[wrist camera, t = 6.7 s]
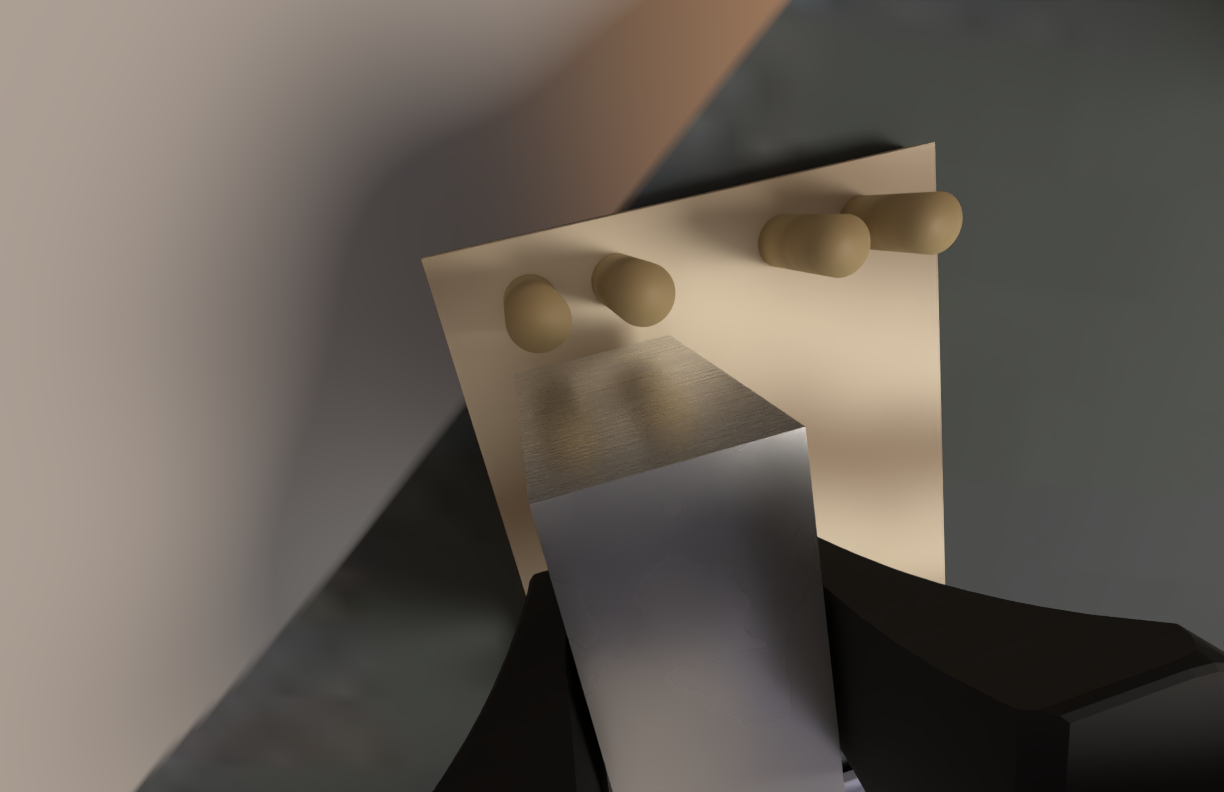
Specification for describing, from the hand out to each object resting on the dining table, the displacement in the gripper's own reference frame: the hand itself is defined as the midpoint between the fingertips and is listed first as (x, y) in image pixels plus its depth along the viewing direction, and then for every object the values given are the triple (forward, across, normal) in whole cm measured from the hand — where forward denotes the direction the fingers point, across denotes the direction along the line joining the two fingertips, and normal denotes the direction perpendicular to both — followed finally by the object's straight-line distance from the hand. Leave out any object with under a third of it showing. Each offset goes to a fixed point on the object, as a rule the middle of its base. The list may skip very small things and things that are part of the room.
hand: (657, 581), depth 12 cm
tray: (+4, -3, 0) cm, 5 cm away
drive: (+2, 0, 0) cm, 2 cm away
